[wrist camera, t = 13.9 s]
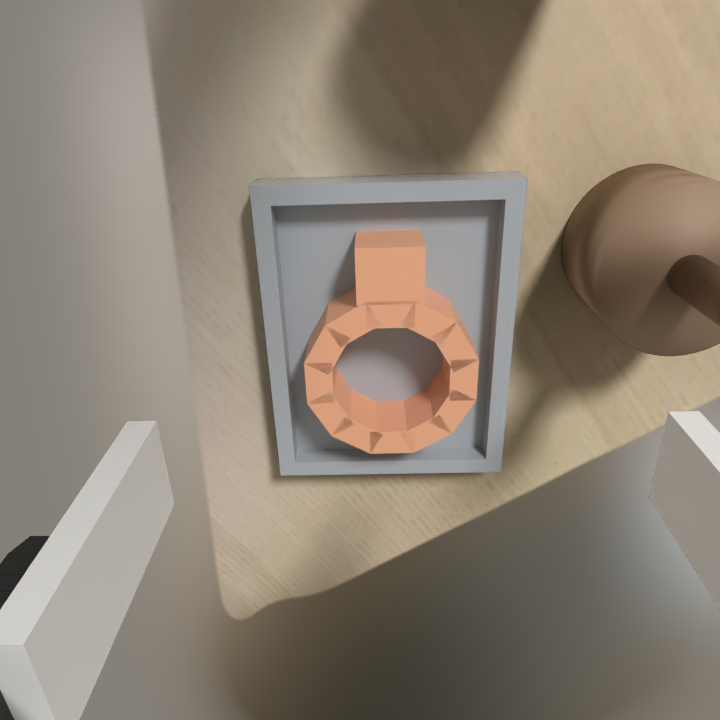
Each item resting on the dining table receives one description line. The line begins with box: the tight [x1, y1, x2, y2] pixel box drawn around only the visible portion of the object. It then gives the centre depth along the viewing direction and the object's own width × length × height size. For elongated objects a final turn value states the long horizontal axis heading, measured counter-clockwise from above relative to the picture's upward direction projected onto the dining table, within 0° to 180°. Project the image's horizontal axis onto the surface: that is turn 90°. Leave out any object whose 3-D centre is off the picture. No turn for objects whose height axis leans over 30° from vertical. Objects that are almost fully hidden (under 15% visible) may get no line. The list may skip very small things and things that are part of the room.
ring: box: [304, 229, 479, 454], centre depth 34 cm, size 12×9×4 cm
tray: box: [249, 172, 527, 476], centre depth 35 cm, size 18×14×2 cm
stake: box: [561, 164, 720, 356], centre depth 26 cm, size 8×8×16 cm
